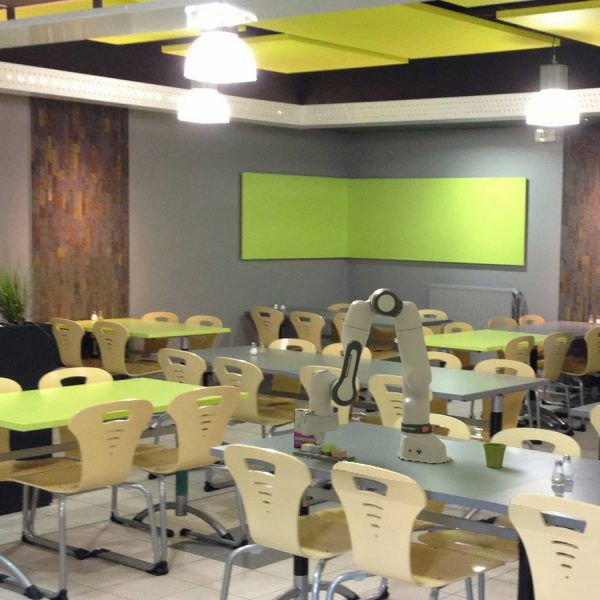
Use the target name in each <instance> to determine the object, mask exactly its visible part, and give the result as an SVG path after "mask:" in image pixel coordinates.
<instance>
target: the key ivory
mask: <svg viewBox="0 0 600 600" xmlns="http://www.w3.org/2000/svg"><path fill="white" fill-rule="evenodd" d="M312 446H315V445H314V444H308V443H307V444H302V445H301V448H300V450H301V451H305V452H309V453H310V452H312Z"/></svg>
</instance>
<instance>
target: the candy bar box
mask: <svg viewBox="0 0 600 600" xmlns="http://www.w3.org/2000/svg"><path fill="white" fill-rule="evenodd" d="M306 412H309V408H300V407H298V408H295V409H294V413H293V418H294V419H293V433H294V434H293V448H296V449H301V445H302V444H307V443H308V444H314V445H315V446H317V445H319V446H322V445H323V443H322V444H316V439H315V437H314V435H309V436H307V435H302V433H301V424H302V419H303V415H304V414H305V413H306ZM320 435H321V434H320ZM319 437H320V436H319Z"/></svg>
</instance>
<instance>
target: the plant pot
mask: <svg viewBox="0 0 600 600" xmlns="http://www.w3.org/2000/svg"><path fill="white" fill-rule="evenodd" d="M482 446H483V449H484V454H485V455H484V456H485V462H486V464H485V465H486V467H487V466H488V468H495V469H499V467H500V468H503V464H504V459H505V458H504V457H505V452H506V450H507V449H506V448H507V447H508V444H505V443H500V442H485V443H482Z"/></svg>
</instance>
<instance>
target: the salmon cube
mask: <svg viewBox="0 0 600 600" xmlns="http://www.w3.org/2000/svg"><path fill="white" fill-rule="evenodd" d="M347 452H348V451H347V449H341V448H336V450H333V457H337V458H340V459H341V458H342V457H347V455H348V453H347Z"/></svg>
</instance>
